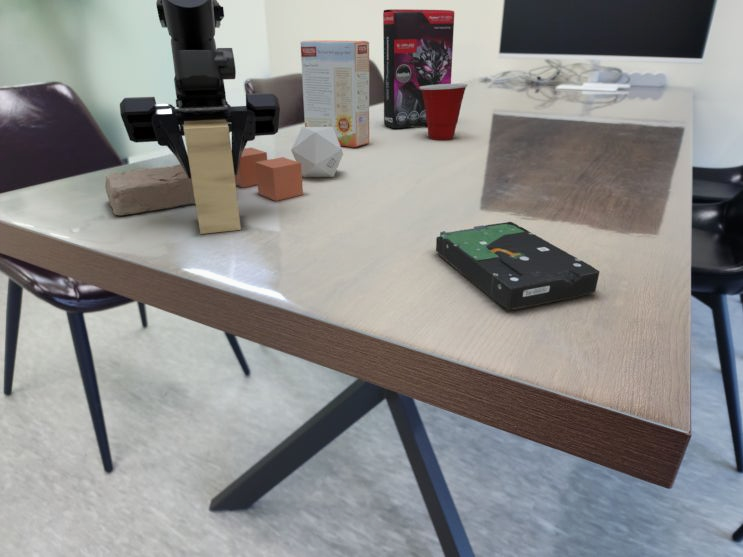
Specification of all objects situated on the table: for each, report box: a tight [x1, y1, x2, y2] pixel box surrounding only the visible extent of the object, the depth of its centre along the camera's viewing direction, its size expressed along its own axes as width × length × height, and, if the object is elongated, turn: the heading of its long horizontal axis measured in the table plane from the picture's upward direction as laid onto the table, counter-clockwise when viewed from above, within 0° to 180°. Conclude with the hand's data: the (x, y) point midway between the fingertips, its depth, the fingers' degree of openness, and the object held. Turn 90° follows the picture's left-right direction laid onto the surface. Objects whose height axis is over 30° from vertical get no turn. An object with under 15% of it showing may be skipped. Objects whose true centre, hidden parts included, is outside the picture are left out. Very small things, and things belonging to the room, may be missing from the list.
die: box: [290, 126, 344, 178], centre depth 87 cm, size 8×9×10 cm
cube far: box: [234, 147, 268, 189], centre depth 84 cm, size 5×5×5 cm
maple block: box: [184, 119, 242, 235], centre depth 63 cm, size 5×5×13 cm
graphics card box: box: [382, 8, 456, 129], centre depth 128 cm, size 17×7×27 cm, turn 115°
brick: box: [104, 163, 196, 216], centre depth 75 cm, size 17×8×5 cm, turn 123°
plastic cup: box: [420, 83, 468, 141], centre depth 117 cm, size 11×11×12 cm
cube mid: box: [255, 156, 304, 202], centre depth 78 cm, size 5×5×5 cm
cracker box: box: [300, 39, 370, 148], centre depth 109 cm, size 14×6×21 cm, turn 58°
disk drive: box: [435, 221, 601, 310], centre depth 53 cm, size 10×3×15 cm
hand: (212, 175), depth 62 cm, fingers closed on maple block, 5 cm apart
